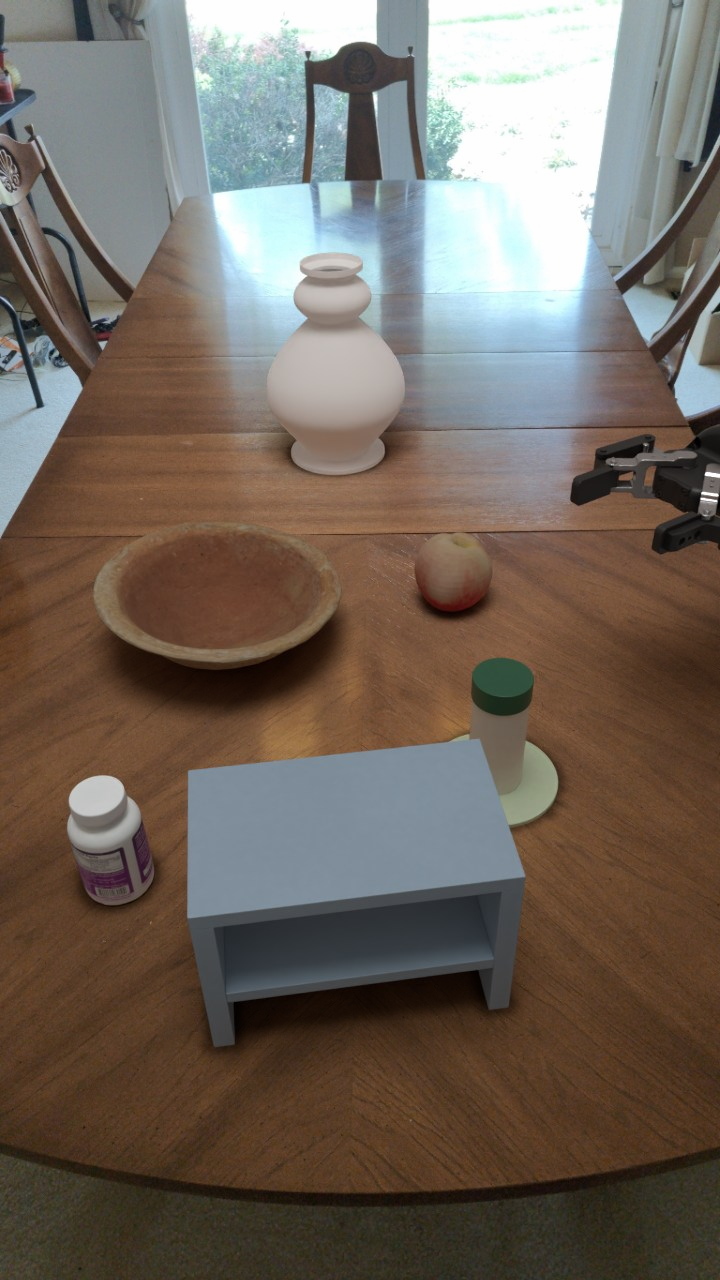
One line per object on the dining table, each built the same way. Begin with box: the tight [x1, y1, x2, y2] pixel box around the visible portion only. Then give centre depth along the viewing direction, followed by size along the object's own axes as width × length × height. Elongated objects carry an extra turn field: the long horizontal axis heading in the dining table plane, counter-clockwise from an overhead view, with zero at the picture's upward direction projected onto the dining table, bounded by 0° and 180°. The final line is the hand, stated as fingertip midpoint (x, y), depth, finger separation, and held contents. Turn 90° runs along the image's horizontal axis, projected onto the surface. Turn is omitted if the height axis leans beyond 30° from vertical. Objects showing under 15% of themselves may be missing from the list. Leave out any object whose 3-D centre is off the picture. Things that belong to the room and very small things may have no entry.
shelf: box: [186, 739, 527, 1048], centre depth 66 cm, size 12×20×14 cm, turn 98°
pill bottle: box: [66, 774, 155, 906], centre depth 73 cm, size 5×5×10 cm
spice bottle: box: [468, 657, 535, 795], centre depth 80 cm, size 5×5×11 cm
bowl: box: [92, 521, 343, 671], centre depth 97 cm, size 24×24×8 cm
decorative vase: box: [265, 251, 406, 476], centre depth 124 cm, size 18×18×25 cm
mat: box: [448, 733, 559, 829], centre depth 84 cm, size 11×11×1 cm
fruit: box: [414, 531, 493, 613], centre depth 102 cm, size 8×8×8 cm
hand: (613, 516), depth 73 cm, fingers open, 8 cm apart
